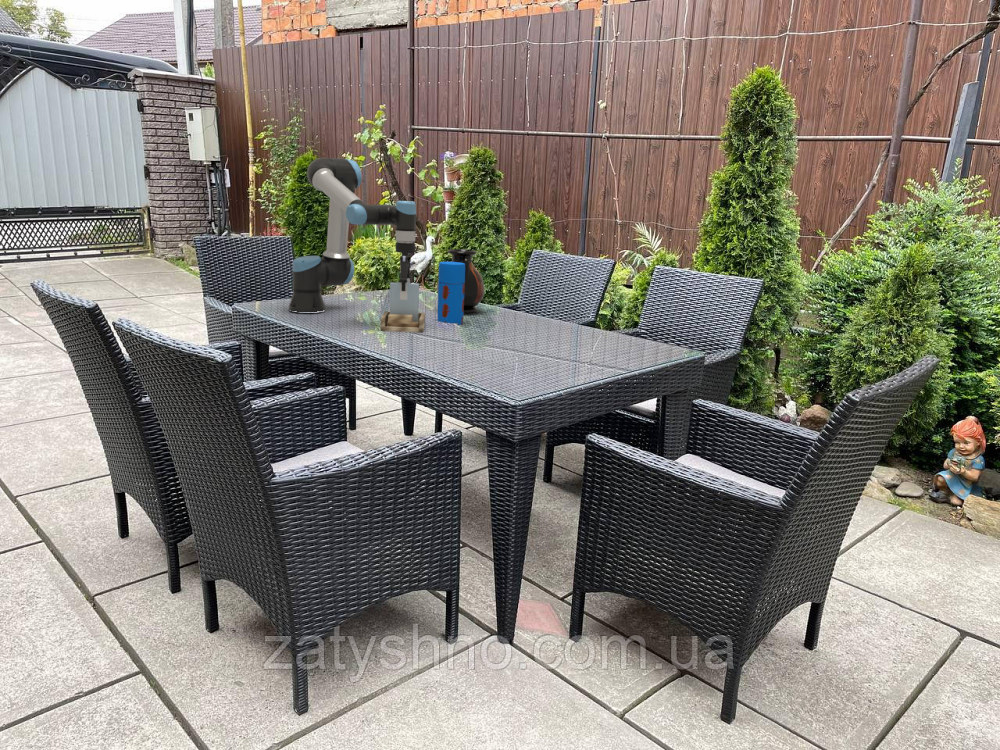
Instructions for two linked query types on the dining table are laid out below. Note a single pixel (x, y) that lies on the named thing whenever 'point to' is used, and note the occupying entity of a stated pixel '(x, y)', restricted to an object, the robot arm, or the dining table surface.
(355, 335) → the dining table surface
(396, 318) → the offcut
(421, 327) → the box
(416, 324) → the offcut
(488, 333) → the dining table surface
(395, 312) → the pale blue block
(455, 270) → the thermos
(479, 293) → the amphora vase
